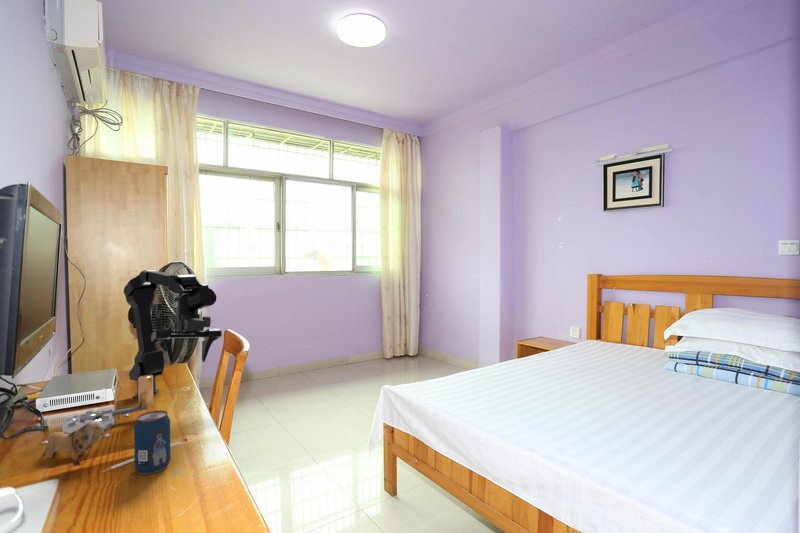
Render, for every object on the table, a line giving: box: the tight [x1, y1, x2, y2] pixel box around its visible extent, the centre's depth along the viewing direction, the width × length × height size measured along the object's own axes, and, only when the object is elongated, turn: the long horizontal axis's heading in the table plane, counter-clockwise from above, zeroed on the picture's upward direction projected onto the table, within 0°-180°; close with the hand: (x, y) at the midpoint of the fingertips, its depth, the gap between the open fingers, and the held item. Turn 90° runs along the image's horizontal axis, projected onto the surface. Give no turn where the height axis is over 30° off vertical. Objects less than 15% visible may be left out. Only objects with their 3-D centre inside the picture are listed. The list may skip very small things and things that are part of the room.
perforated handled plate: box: [62, 375, 154, 435], centre depth 109 cm, size 20×11×12 cm, turn 127°
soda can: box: [133, 410, 172, 475], centre depth 89 cm, size 7×7×12 cm
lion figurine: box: [41, 422, 104, 467], centre depth 92 cm, size 15×5×9 cm, turn 92°
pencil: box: [102, 438, 188, 473], centre depth 95 cm, size 1×19×1 cm, turn 146°
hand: (187, 362), depth 120 cm, fingers open, 9 cm apart
